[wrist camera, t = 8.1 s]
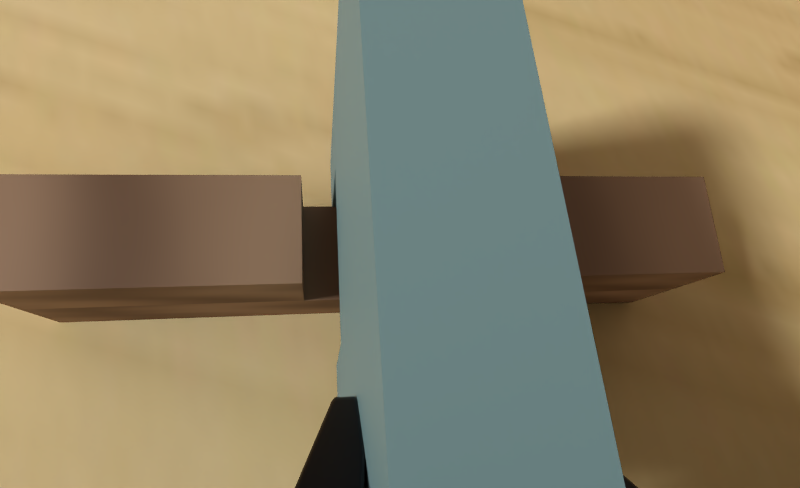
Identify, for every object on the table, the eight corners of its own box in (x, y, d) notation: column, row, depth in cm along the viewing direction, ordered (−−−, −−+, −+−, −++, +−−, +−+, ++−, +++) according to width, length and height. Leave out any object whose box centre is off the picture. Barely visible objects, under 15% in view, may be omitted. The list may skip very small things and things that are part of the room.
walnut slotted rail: (618, 226, 22) (703, 177, 17) (631, 301, 21) (724, 271, 16) (69, 233, 19) (-16, 174, 14) (59, 322, 18) (-34, 292, 13)
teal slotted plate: (430, 545, 15) (666, 682, 5) (342, 555, 15) (402, 724, 5) (398, 163, 20) (487, -167, 10) (330, 163, 19) (347, -183, 9)
